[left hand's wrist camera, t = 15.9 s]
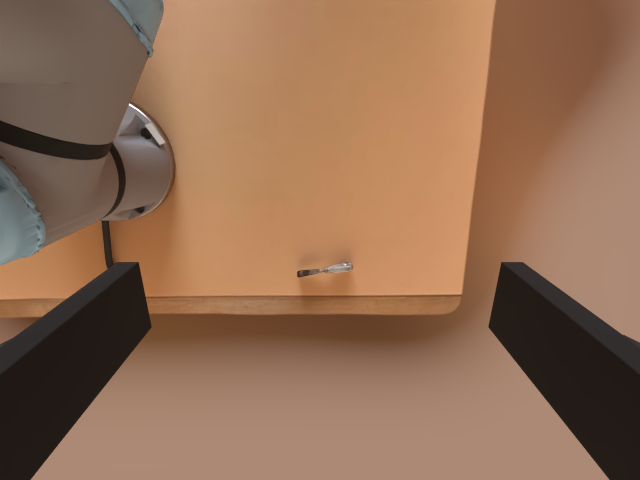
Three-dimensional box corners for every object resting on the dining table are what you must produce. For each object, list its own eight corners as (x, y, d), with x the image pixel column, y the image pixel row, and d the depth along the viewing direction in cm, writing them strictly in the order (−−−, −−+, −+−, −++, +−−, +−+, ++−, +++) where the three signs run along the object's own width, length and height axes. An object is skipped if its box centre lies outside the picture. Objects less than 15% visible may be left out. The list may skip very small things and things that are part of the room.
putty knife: (353, 267, 49) (354, 272, 47) (298, 275, 49) (297, 280, 48) (352, 260, 49) (353, 265, 47) (297, 269, 49) (296, 274, 47)
